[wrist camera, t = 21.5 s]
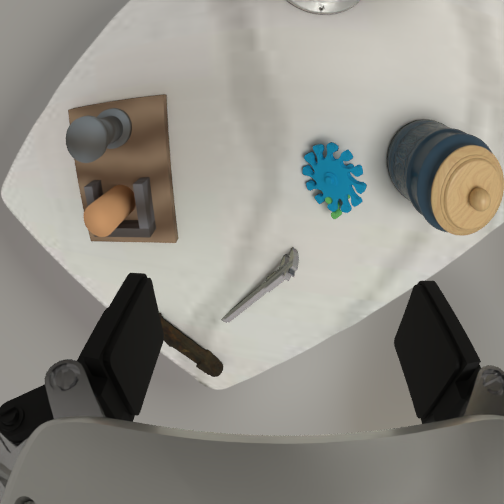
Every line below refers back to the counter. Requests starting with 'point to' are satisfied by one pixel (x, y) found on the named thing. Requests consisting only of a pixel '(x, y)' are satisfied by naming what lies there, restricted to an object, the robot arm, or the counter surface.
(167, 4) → the counter surface
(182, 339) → the hand tool
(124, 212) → the tan oval solid
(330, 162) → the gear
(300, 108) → the counter surface
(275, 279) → the caliper
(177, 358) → the counter surface
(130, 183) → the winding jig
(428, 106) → the counter surface
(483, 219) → the canister
